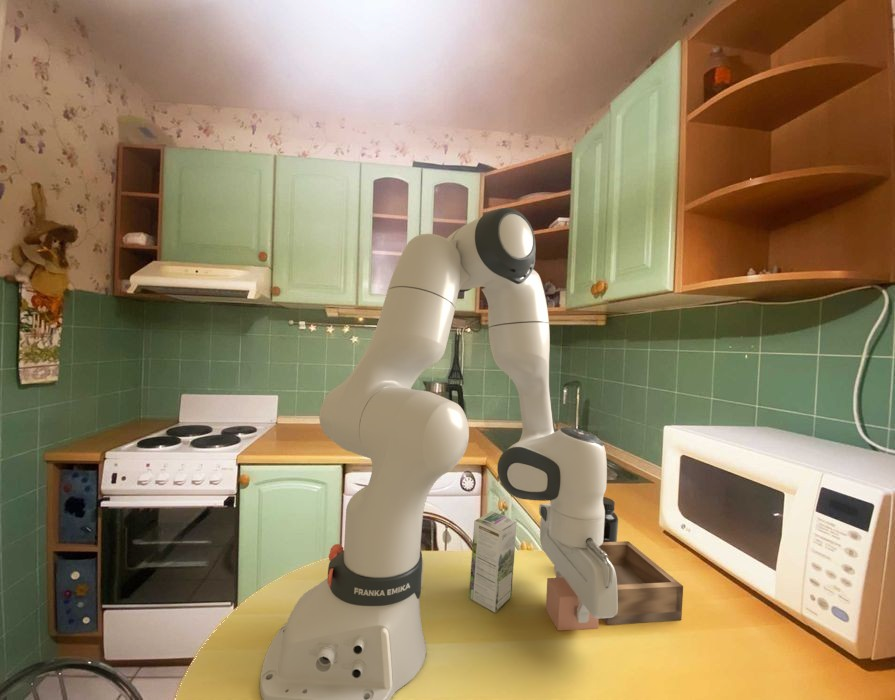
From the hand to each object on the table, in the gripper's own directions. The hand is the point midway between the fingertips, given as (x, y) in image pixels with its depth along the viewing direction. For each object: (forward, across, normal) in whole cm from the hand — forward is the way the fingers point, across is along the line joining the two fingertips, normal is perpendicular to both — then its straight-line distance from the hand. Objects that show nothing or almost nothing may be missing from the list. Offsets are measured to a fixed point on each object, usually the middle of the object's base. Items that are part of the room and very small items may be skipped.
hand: (571, 605), depth 64 cm
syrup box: (+2, +6, +12) cm, 14 cm away
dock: (+2, +6, -12) cm, 14 cm away
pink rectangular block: (+2, 0, 0) cm, 2 cm away
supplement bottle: (+2, +20, -18) cm, 27 cm away
